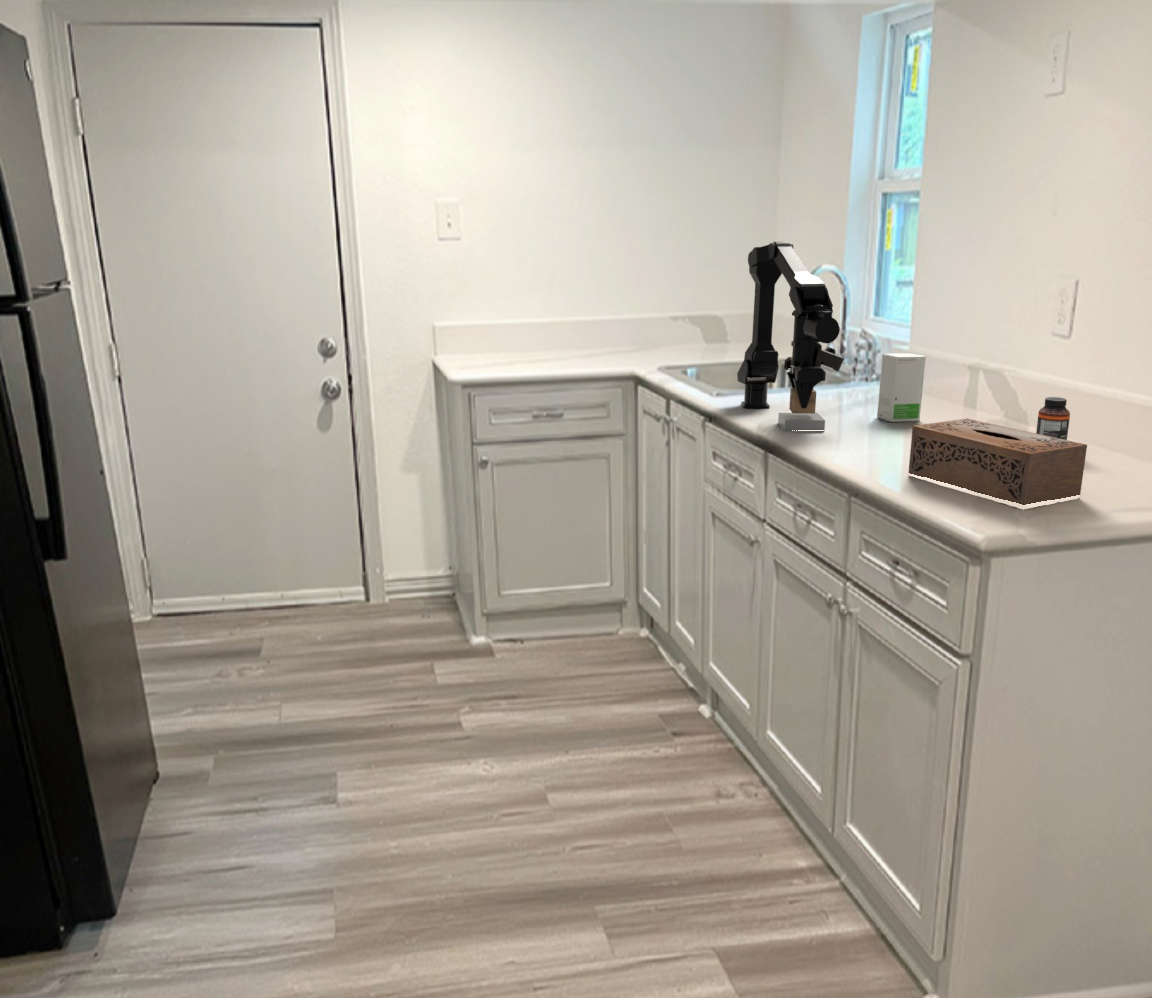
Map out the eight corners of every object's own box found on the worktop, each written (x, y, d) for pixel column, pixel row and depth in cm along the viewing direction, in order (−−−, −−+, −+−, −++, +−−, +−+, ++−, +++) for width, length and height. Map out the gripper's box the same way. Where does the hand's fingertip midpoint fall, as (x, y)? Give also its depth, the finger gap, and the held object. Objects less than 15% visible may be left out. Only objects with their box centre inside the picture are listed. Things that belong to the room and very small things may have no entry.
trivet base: (778, 425, 240) (778, 412, 239) (816, 425, 240) (817, 412, 239) (784, 433, 232) (785, 420, 231) (824, 433, 231) (825, 420, 231)
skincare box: (890, 422, 240) (895, 357, 236) (875, 417, 246) (880, 353, 242) (921, 421, 242) (927, 355, 238) (905, 415, 249) (911, 352, 244)
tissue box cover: (1079, 500, 177) (1087, 444, 175) (1023, 511, 171) (1030, 453, 168) (961, 468, 199) (967, 418, 196) (907, 477, 193) (912, 425, 190)
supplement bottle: (1038, 447, 215) (1045, 394, 212) (1068, 451, 211) (1075, 398, 208) (1030, 452, 211) (1036, 398, 208) (1060, 457, 207) (1067, 402, 204)
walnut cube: (789, 409, 237) (790, 387, 236) (810, 409, 237) (812, 388, 236) (793, 413, 232) (794, 391, 231) (815, 413, 232) (816, 391, 231)
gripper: (851, 343, 221) (846, 414, 225) (833, 333, 239) (829, 398, 243) (799, 343, 221) (795, 413, 225) (785, 333, 239) (782, 398, 243)
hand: (802, 406), depth 234 cm, fingers closed on walnut cube, 5 cm apart
